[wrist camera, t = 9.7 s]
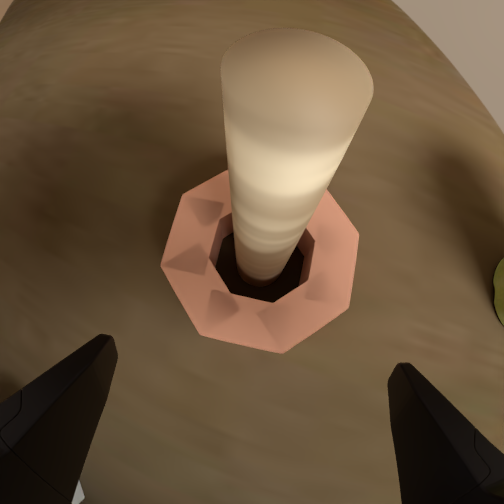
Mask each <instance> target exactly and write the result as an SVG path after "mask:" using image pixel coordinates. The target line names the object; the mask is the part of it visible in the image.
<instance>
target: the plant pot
mask: <svg viewBox="0 0 504 504" xmlns="http://www.w3.org/2000/svg"><path fill="white" fill-rule="evenodd" d="M493 284H494V287H495V299H494V305H495V309H496V312H497V315H498V317H499V319H500V321H501V323H502V324H503V325H504V258H503V259H502V260H501V261H500V262H499V264H498V266H497V268H496V271H495V274H494V279H493Z"/></svg>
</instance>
